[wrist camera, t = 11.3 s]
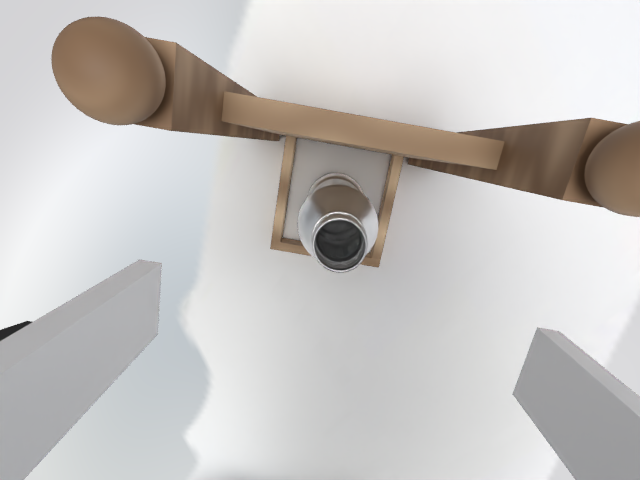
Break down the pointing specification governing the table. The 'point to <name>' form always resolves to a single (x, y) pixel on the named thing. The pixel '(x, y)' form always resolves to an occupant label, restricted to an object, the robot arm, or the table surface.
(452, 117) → the table surface
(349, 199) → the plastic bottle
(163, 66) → the headboard holder
